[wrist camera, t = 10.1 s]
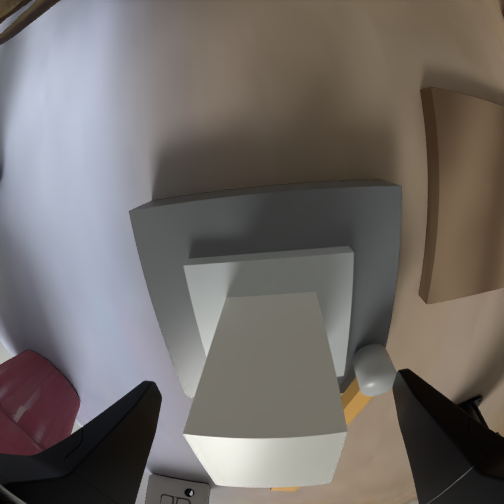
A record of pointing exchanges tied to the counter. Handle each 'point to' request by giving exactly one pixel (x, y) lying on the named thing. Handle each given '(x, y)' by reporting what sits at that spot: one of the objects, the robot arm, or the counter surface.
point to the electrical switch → (175, 491)
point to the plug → (271, 365)
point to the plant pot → (34, 405)
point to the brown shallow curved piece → (6, 3)
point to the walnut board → (463, 196)
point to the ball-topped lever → (364, 383)
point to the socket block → (271, 240)
